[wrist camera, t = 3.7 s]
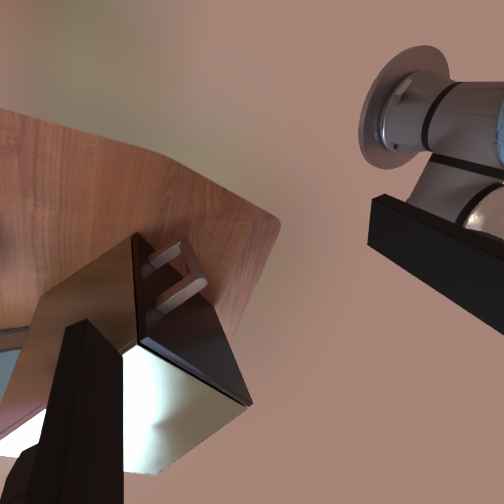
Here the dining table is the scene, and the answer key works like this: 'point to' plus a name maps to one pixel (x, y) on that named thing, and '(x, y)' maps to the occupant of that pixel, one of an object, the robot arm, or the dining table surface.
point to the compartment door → (183, 316)
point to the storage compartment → (135, 371)
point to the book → (9, 354)
